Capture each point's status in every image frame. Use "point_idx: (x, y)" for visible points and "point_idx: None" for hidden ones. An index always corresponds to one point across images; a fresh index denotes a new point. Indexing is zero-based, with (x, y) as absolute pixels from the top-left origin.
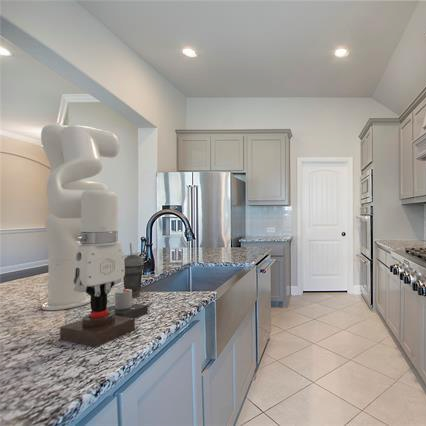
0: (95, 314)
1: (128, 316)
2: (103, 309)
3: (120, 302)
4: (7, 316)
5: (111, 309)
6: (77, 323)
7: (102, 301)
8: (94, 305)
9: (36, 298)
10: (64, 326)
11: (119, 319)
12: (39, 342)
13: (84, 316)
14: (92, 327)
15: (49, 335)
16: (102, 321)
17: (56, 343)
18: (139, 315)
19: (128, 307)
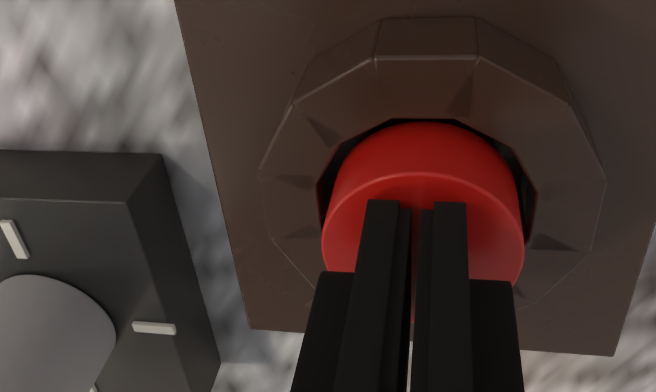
0: (511, 203)
1: (95, 174)
2: (409, 209)
3: (61, 354)
4: None
5: (137, 358)
6: None
7: (423, 305)
8: (515, 318)
9: None
10: (597, 339)
11: (272, 28)
12: (648, 347)
13: None
14: (574, 86)
15: (534, 384)
16: (502, 50)
17: (652, 243)
18: (7, 153)
19: (31, 278)
